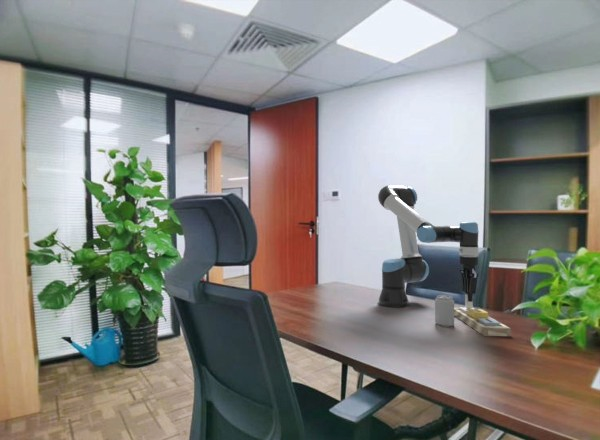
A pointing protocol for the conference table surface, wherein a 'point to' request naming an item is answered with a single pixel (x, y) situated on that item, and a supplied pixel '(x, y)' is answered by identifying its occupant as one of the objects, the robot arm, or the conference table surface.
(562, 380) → the conference table surface
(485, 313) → the tile
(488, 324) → the tile
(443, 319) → the can
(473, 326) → the frame
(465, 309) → the tile
